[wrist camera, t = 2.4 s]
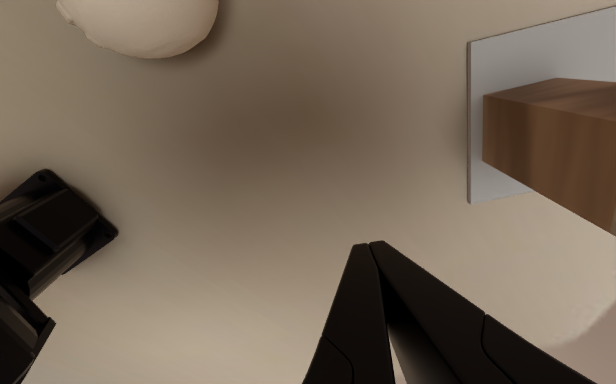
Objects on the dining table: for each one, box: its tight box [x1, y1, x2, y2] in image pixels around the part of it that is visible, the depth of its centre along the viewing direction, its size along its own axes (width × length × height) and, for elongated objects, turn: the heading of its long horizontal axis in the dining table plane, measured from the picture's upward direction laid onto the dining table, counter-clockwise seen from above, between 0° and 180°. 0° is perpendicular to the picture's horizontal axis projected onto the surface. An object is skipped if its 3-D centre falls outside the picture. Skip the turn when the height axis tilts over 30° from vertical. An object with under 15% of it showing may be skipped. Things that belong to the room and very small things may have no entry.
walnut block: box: [482, 78, 616, 236], centre depth 15 cm, size 4×4×10 cm
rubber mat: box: [468, 6, 616, 204], centre depth 19 cm, size 17×11×1 cm, turn 103°
